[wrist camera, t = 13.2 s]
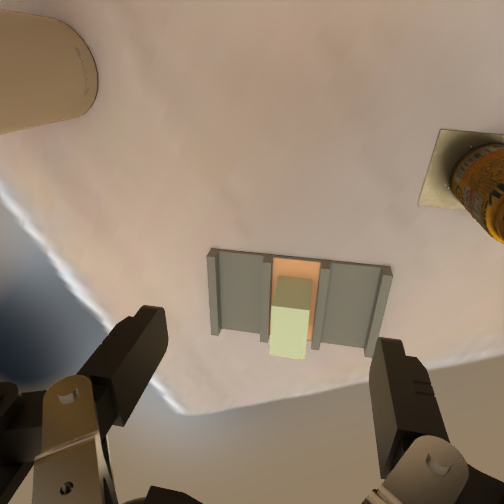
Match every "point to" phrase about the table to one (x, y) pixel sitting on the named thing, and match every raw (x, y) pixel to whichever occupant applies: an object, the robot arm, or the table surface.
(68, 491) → the robot arm
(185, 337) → the table surface
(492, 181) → the condiment
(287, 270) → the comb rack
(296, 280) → the plug
